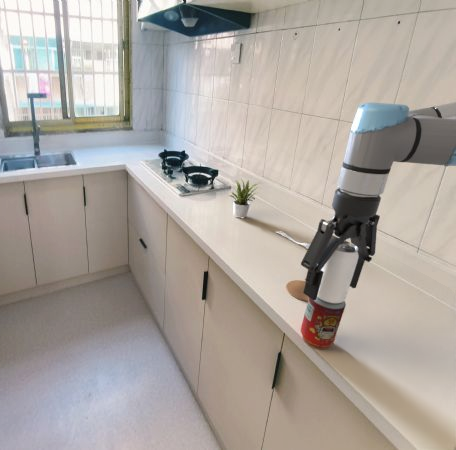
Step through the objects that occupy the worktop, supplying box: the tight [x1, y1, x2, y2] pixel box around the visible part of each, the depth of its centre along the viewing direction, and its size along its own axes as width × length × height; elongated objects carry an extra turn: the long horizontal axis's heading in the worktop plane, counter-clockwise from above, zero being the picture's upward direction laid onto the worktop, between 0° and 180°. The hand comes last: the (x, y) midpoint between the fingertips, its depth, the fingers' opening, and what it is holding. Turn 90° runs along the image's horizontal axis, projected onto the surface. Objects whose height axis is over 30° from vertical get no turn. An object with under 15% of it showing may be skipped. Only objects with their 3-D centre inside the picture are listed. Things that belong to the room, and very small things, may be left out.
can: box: [317, 240, 359, 304], centre depth 70 cm, size 6×6×12 cm
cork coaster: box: [285, 279, 309, 303], centre depth 95 cm, size 10×10×1 cm
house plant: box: [227, 178, 262, 218], centre depth 141 cm, size 14×14×16 cm
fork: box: [275, 230, 311, 250], centre depth 122 cm, size 3×21×3 cm, turn 20°
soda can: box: [300, 297, 347, 350], centre depth 74 cm, size 7×7×12 cm
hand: (329, 290), depth 71 cm, fingers open, 11 cm apart
